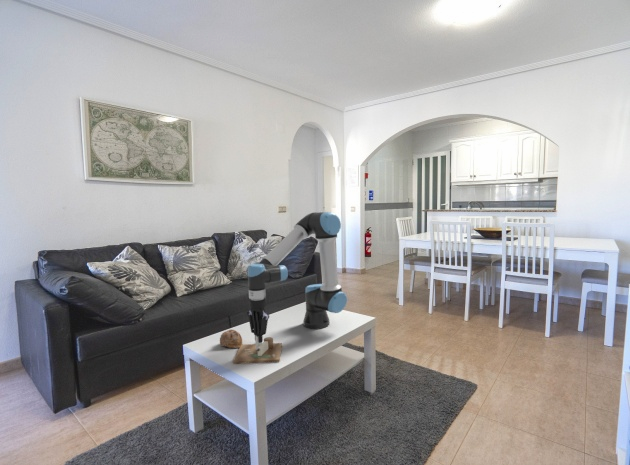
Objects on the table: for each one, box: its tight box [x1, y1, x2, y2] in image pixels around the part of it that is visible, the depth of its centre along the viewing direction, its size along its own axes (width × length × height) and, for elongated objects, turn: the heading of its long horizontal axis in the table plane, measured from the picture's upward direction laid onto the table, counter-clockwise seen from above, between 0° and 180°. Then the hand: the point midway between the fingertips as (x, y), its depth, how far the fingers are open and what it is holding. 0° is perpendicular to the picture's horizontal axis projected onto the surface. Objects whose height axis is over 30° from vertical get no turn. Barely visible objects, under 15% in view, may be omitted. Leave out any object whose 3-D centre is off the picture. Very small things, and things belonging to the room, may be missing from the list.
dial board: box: [232, 342, 283, 365], centre depth 153 cm, size 20×18×1 cm
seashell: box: [219, 329, 244, 348], centre depth 165 cm, size 10×9×10 cm
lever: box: [257, 336, 274, 356], centre depth 153 cm, size 13×4×4 cm, turn 164°
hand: (259, 348), depth 151 cm, fingers closed
